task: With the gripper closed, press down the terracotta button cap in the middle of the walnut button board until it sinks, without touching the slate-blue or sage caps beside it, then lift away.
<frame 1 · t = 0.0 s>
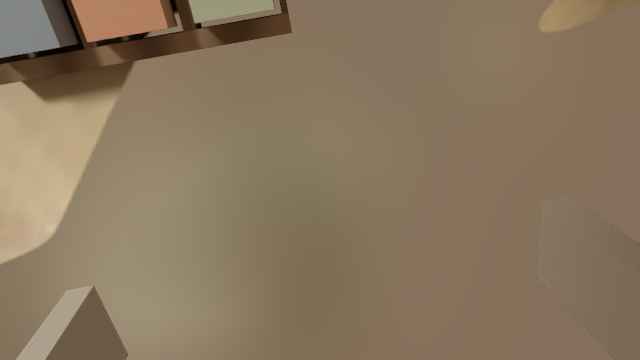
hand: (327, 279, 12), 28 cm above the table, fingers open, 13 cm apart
cap slate: (12, 10, 30), point 3 cm above the table, slide at 0.0 cm
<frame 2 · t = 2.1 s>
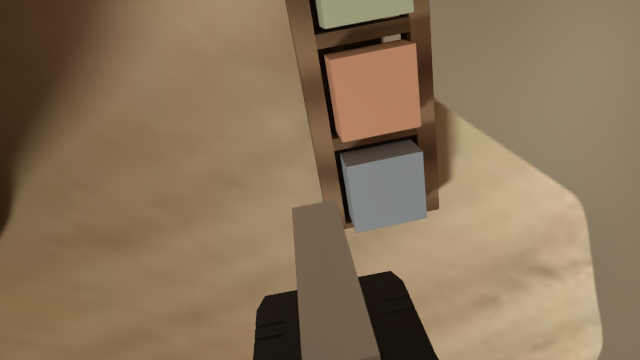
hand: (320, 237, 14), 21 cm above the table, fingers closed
cap terracotta: (372, 90, 30), point 3 cm above the table, slide at 0.0 cm
cap slate: (383, 185, 33), point 4 cm above the table, slide at 0.0 cm
button board: (362, 81, 33), on the table
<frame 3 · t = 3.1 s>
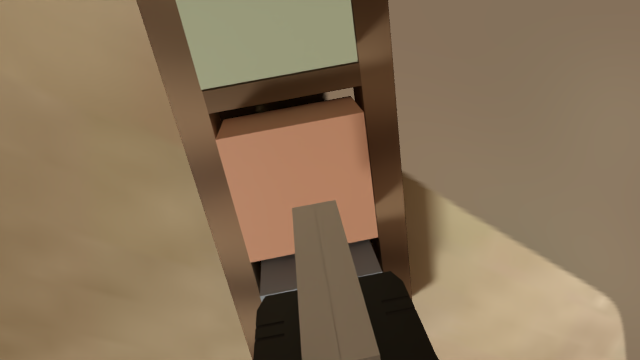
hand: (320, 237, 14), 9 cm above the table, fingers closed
cap terracotta: (300, 178, 19), point 3 cm above the table, slide at 0.0 cm
cap slate: (326, 309, 22), point 3 cm above the table, slide at 0.0 cm
button board: (296, 152, 22), on the table
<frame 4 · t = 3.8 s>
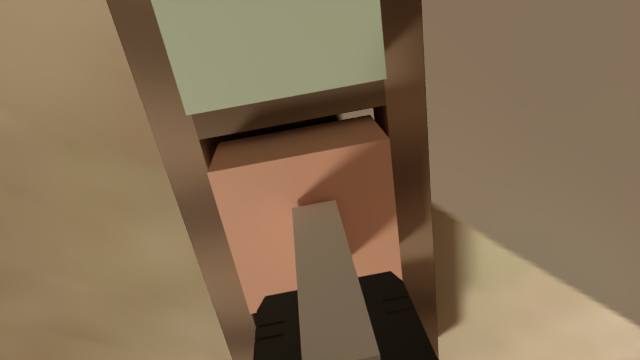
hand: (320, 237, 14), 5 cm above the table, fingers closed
cap terracotta: (310, 213, 16), point 3 cm above the table, slide at 0.3 cm, touching gripper
button board: (305, 180, 18), on the table
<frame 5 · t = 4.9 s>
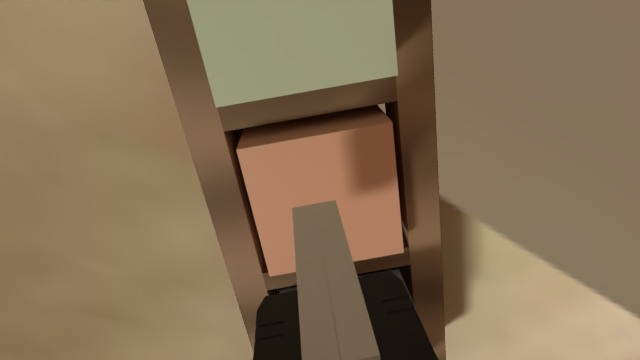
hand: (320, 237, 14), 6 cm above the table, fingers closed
cap terracotta: (323, 189, 18), point 2 cm above the table, slide at 1.5 cm
cap slate: (351, 347, 20), point 4 cm above the table, slide at 0.0 cm
button board: (319, 172, 20), on the table
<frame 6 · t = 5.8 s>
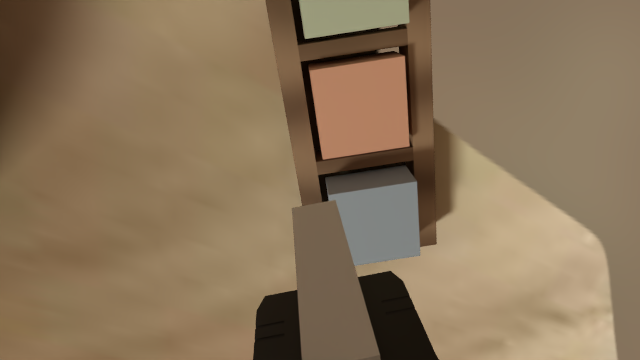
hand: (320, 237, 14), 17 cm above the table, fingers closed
cap terracotta: (358, 105, 28), point 2 cm above the table, slide at 1.5 cm
cap slate: (372, 216, 29), point 4 cm above the table, slide at 0.0 cm
button board: (354, 98, 29), on the table
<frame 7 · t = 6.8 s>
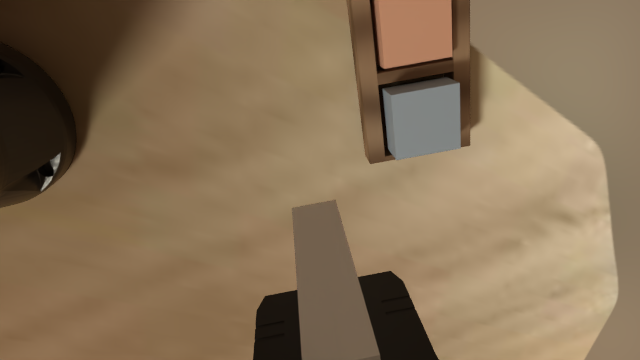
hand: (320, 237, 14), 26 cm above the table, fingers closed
cap terracotta: (411, 25, 35), point 2 cm above the table, slide at 1.5 cm
cap slate: (421, 118, 37), point 4 cm above the table, slide at 0.0 cm
button board: (404, 23, 37), on the table
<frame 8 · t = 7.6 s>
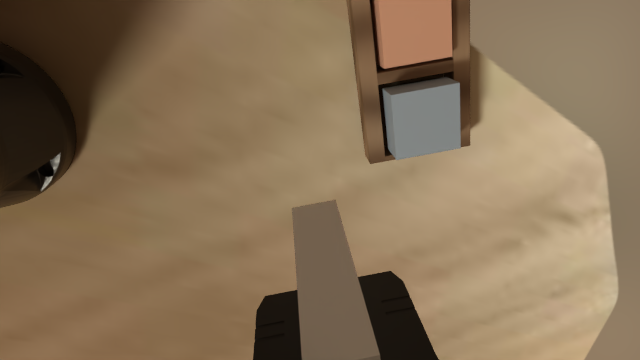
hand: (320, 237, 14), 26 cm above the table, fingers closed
cap terracotta: (411, 25, 35), point 2 cm above the table, slide at 1.5 cm
cap slate: (421, 118, 37), point 3 cm above the table, slide at 0.0 cm
button board: (404, 23, 37), on the table
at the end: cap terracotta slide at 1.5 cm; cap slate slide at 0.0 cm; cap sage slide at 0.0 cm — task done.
